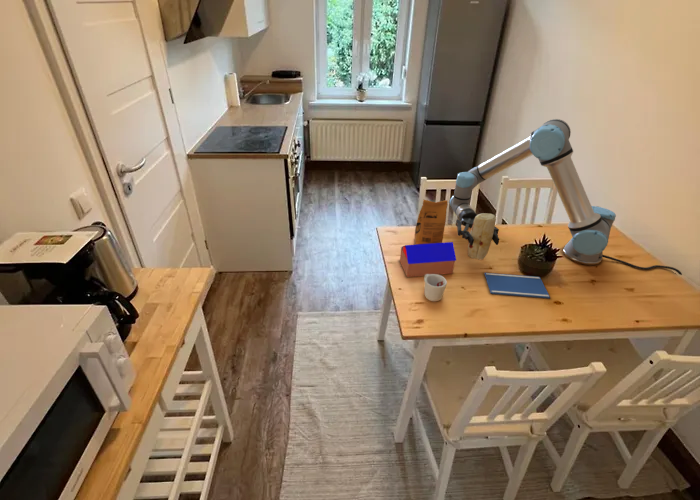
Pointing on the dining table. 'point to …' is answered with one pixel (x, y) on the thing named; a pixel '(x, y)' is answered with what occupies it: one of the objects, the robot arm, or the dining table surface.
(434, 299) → the cup
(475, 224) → the food model
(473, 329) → the dining table surface
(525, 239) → the dining table surface
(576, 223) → the robot arm
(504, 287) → the towel
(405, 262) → the house
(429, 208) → the coffee package
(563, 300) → the dining table surface
